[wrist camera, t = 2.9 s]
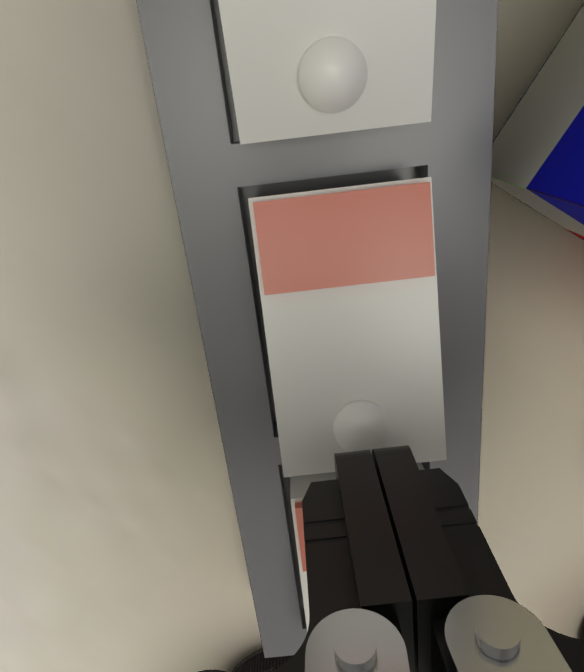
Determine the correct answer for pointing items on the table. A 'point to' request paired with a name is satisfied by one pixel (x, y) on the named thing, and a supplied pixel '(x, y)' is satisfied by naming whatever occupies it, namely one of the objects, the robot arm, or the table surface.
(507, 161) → the puzzle toy
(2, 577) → the table surface
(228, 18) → the rocker
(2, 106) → the table surface
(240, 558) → the table surface
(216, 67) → the power strip
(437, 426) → the rocker
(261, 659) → the camera lens
